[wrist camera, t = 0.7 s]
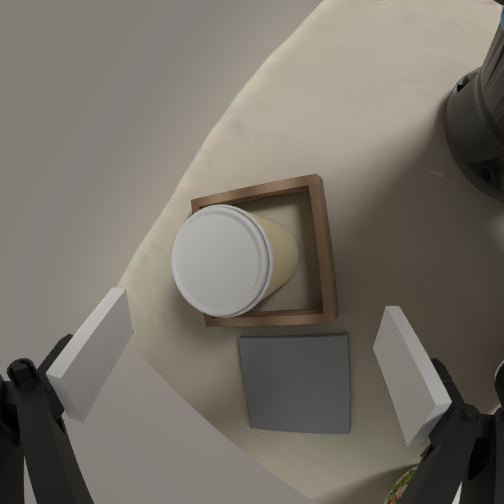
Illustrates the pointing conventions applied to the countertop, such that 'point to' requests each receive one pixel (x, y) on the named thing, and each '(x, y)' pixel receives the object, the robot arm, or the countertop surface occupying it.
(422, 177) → the countertop surface
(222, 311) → the coffee cup
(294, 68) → the countertop surface
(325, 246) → the cup holder
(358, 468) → the countertop surface
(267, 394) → the rubber mat
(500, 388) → the dixie cup
